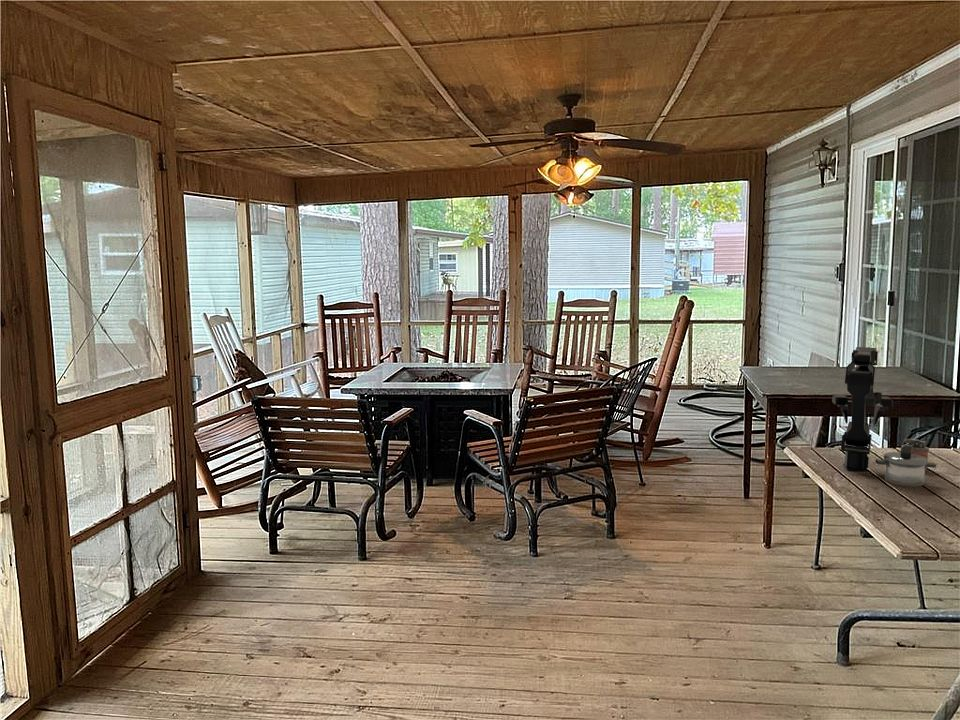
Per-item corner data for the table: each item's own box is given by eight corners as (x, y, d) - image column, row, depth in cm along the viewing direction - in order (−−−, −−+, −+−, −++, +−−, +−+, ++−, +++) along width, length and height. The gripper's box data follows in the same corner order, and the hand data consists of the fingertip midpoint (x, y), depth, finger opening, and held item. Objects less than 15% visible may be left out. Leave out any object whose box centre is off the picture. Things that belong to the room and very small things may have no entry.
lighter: (927, 467, 243) (929, 440, 241) (927, 470, 240) (929, 442, 238) (900, 464, 247) (902, 437, 246) (899, 466, 244) (902, 439, 243)
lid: (890, 464, 224) (891, 449, 223) (879, 454, 236) (880, 439, 235) (933, 467, 221) (935, 452, 220) (920, 456, 233) (921, 441, 232)
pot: (880, 484, 226) (881, 463, 225) (870, 474, 237) (872, 454, 236) (939, 488, 222) (941, 467, 221) (927, 477, 232) (928, 457, 231)
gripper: (840, 385, 245) (837, 428, 247) (899, 387, 240) (896, 430, 242) (833, 379, 255) (830, 420, 258) (889, 381, 250) (886, 423, 253)
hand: (860, 424), depth 252 cm, fingers open, 9 cm apart
